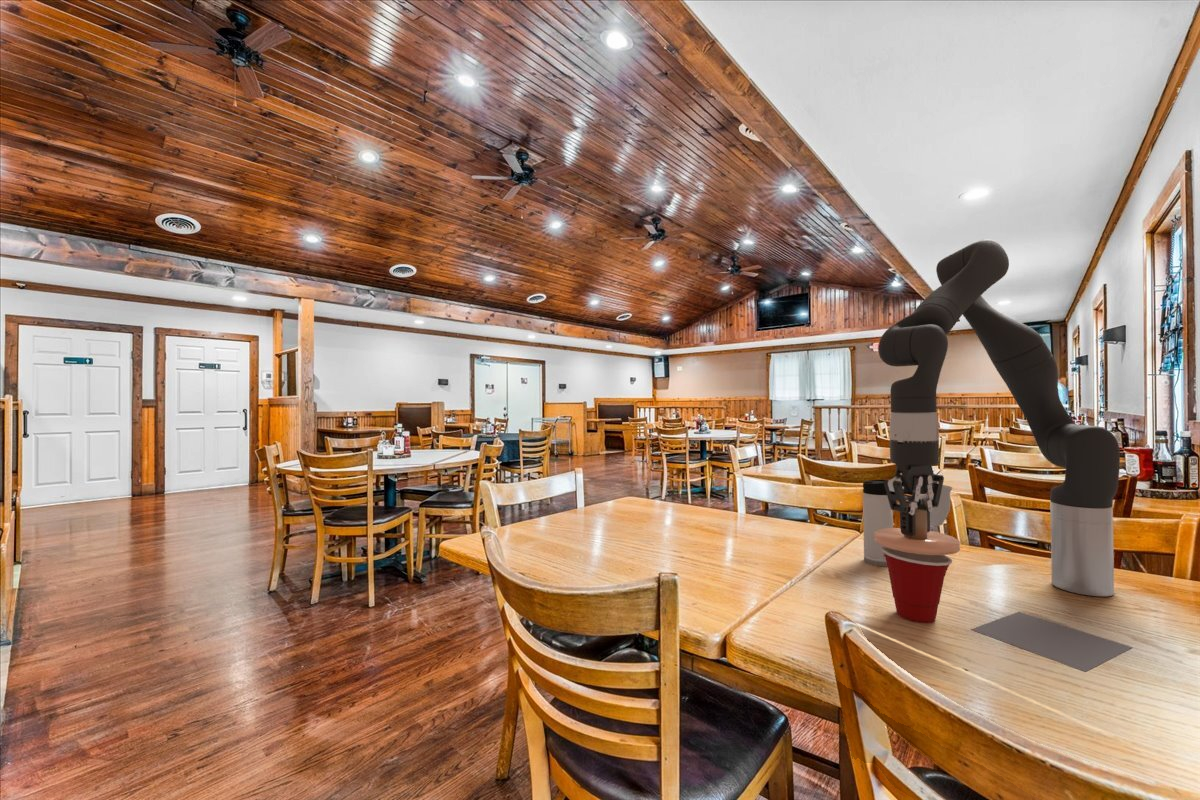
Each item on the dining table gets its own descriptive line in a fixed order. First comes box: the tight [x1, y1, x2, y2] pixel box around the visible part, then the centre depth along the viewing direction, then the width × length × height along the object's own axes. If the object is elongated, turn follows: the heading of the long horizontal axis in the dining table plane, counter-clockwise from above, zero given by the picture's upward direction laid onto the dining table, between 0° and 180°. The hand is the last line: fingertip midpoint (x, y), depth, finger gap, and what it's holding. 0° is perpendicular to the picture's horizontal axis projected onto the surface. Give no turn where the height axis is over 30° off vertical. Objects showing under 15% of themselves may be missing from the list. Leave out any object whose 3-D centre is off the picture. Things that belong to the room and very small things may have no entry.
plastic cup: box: [882, 546, 953, 624], centre depth 91 cm, size 11×11×12 cm
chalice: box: [921, 484, 953, 533], centre depth 122 cm, size 7×7×18 cm
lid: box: [875, 508, 961, 556], centre depth 92 cm, size 13×13×6 cm
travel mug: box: [862, 478, 894, 567], centre depth 122 cm, size 6×7×20 cm
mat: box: [970, 611, 1134, 673], centre depth 82 cm, size 15×15×1 cm
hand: (915, 532), depth 92 cm, fingers closed on lid, 3 cm apart
